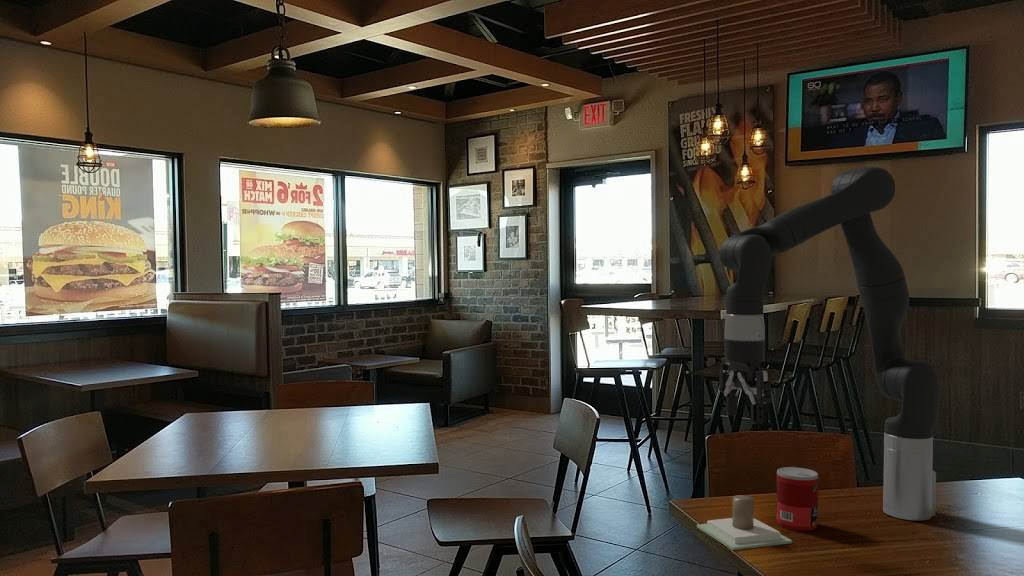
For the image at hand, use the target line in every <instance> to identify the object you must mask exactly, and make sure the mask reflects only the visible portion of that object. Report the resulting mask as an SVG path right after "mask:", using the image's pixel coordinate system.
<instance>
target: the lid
mask: <svg viewBox="0 0 1024 576" xmlns="http://www.w3.org/2000/svg"><path fill="white" fill-rule="evenodd" d="M754 509H755V498H754V497H751V496H750V495H743V494H738V495H733V496H732V517H729V518H718V519H710V520H707V521H706V524H707V527H709V528H710V529H712V530H714V531H715V532H717V533H718V534H720V535H722V536H723V537H725V538H726V539H728V540H730V541H731V542H733V543H734V544H739V543H747V542H756V541H765V540H773V539H780V534H781V532H780V531H779V530H777V529H775V528H773V527H771V526H770V525H767V524H766V523H764V522H761V520H758V519H756V518H755V517H754V516H755V511H754Z"/></svg>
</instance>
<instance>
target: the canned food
mask: <svg viewBox="0 0 1024 576" xmlns="http://www.w3.org/2000/svg"><path fill="white" fill-rule="evenodd" d="M775 504H776V514H775V515H776V516H775V517H776V518H775V519H776V522H777V524H778V525H779V526H780V527H782V528H785V529H786V530H791V531H792V530H793V531H799V532H805V531H806V532H807V531H813V530H815V529H816V528H817V527H818V523H819V522H818V521H819V519H818V518H819V517H818V514H819V473H818V472H817V471H815V470H813V469H809V468H804V467H795V466H789V467H788V466H787V467H786V466H784V467H780V468H778V469H777V470H776V501H775Z"/></svg>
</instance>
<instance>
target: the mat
mask: <svg viewBox="0 0 1024 576" xmlns="http://www.w3.org/2000/svg"><path fill="white" fill-rule="evenodd" d="M696 528H697V529H699V530H701V531H702V532H703V533H705V534H707V536H710V537H711V538H713V539H715V540H716V541H718V542H719V543H721V544H723V545H724V546H725V547H727V548H729V549H730V550H732V551H738V550H745V549H753V548H761V547H762V548H763V547H770V546H771V547H772V546H779V545H787V544H793V540H792V539H790V538H789V537H786V536H785V535H783V534H782V533H780V539H773V540H765V541H756V542H747V543H739V544H734V543H733V542H731V541H730V540H728V539H726V538H725V537H723V536H722V535H720V534H718V533H717V532H715V531H714V530H712V529H710V528H709V527H707V523H702V524H701V523H700V524H696Z"/></svg>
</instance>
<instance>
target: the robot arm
mask: <svg viewBox="0 0 1024 576" xmlns="http://www.w3.org/2000/svg"><path fill="white" fill-rule="evenodd" d="M895 194H896V181H895V179H894V177H893V175H892V174H891V172H890V171H888V170H886V169H885V168H882V167H878V166H868V167H863V168H862V167H861V168H856V169H855V168H854V169H849V170H845V171H841V172H839V173H838V174H836V175H835V177H834V178H833V180H832V183H831V188H830V194H829V195H827V196H824V197H821V198H818V199H816V200H812V201H810V202H807V203H804V204H802V205H799V206H795V207H793V208H791V209H789V210H786V211H785V212H783V213H781V214H779V215H777V216H775V217H773V218H771V219H770V220H767V222H764V223H762V224H760V225H756V226H754V227H751V228H748V229H746V230H743V231H740V232H738V233H736V234H733V235H731V236H730V237H728V238H727V239H726V240H724V242H723V243H722V244H721V246H720V248H719V253H718V257H719V261H720V263H721V264H722V265H723V267H725V268H726V269H727V270H730V271H733V272H738V273H737V278H736V282H735V283H733V284H731V285H729V286H728V287H727V289H726V295H725V308H726V309H725V322H724V360H725V361H727V362H721V363H720V364H719V379H718V380H719V382H718V390H719V392H721V393H723V395H724V397H725V414H726V415H727V416H729V417H733V416H737V415H738V413H739V409H738V407H739V406H738V405H739V398H738V394H739V392H740V391H741V390H743V391H744V393H745V394H746V395H747V396H748V397H749V400H750V402H751V404H750V423H751V424H754V425H759V424H760V425H761V424H763V422H764V415H765V414H764V413H765V412H764V407H765V406H764V405H765V404H766V403H771V402H772V399H773V397H772V396H773V394H772V372H771V371H770V370H761V367H760V364H761V363H762V362H764V361H765V359H766V358H765V355H766V354H765V352H766V349H765V346H766V343H765V342H766V341H765V340H766V339H765V338H766V337H765V335H766V333H765V331H766V327H765V319H764V304H765V303H764V302H765V301H764V294H765V293H764V291H765V289H766V286H767V283H768V278H769V274H770V270H771V267H772V258H773V255H779V254H783V253H786V252H788V251H790V250H792V249H794V248H795V247H797V246H799V245H801V244H804V243H805V242H806V241H808V240H811V239H812V238H814V237H816V236H818V235H819V234H822V233H824V232H825V231H828V230H831V229H832V228H835V227H836V226H838V225H840V227H841V230H842V233H843V235H844V239H845V241H846V244H847V249H848V252H849V256H850V259H851V263H852V266H853V270H854V271H853V272H854V274H855V278H856V284H857V288H858V289H857V290H858V294H859V297H860V301H861V304H862V307H863V312H864V316H865V320H866V324H867V329H868V334H869V339H870V343H871V351H872V360H873V367H874V374H875V379H876V383H877V386H878V390H879V391H880V392H881V394H883V396H884V397H886V398H888V399H890V400H894V401H899V402H901V409H900V412H899V414H898V415H895V416H891V417H887V418H886V419H885V421H884V427H883V429H884V433H883V434H884V435H883V486H882V488H883V494H882V496H883V498H882V501H883V502H882V503H883V504H882V510H883V513H885V514H886V515H888V516H891V517H893V518H897V519H901V520H907V521H927V520H930V519H931V518H932V517H935V516H936V498H937V497H936V496H937V495H936V494H937V493H936V491H937V490H936V489H937V484H936V483H937V473H936V471H935V470H933V455H934V453H933V450H934V449H933V448H934V447H933V446H934V445H933V442H934V440H933V439H934V429H935V426H936V425H937V421H938V417H939V416H938V414H939V413H938V412H939V400H940V390H941V389H940V388H941V387H940V377H939V373H938V371H937V369H936V368H935V366H934V365H932V364H931V363H930V362H926V361H924V360H922V361H921V360H917V359H911V358H907V356H906V355H905V352H904V348H903V343H902V342H903V341H902V336H901V334H902V333H901V331H902V328H903V327H902V326H903V324H904V320H905V317H906V315H907V311H908V308H909V305H910V293H909V288H908V283H907V280H906V276H905V271H904V268H903V266H902V265H901V263H900V261H899V259H898V258H897V256H896V255H895V254H894V253H893V251H892V250H891V249H889V247H888V246H887V245H886V244H885V242H884V241H883V240H882V239H881V237H880V235H879V233H877V232H878V231H877V230H876V228H875V225H874V222H873V219H872V214H871V213H874V212H877V211H881V210H883V209H885V208H886V207H887V206H889V204H890V203H892V201H893V199H894V198H895ZM725 381H726V382H725ZM764 390H765V395H764Z"/></svg>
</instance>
